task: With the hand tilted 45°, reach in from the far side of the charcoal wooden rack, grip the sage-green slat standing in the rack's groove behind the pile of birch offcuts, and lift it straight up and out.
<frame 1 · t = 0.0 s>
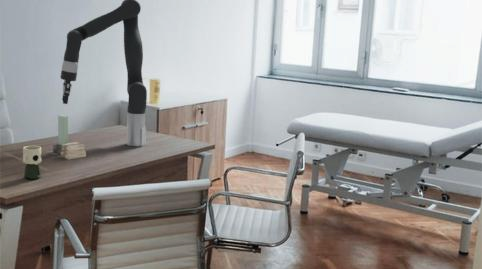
hand: (64, 102, 293), 22 cm above the table, fingers open, 8 cm apart
character mug: (32, 178, 242), on the table
rack: (63, 154, 281), on the table
slat: (63, 152, 281), point 1 cm above the table, touching rack
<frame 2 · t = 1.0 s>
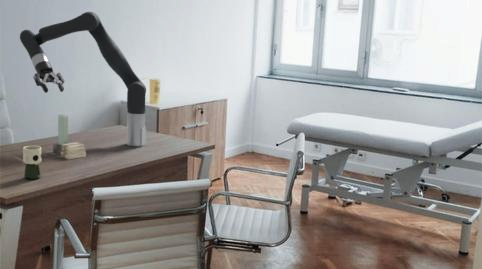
hand: (54, 91, 285), 29 cm above the table, fingers open, 8 cm apart
nothing on the table moved.
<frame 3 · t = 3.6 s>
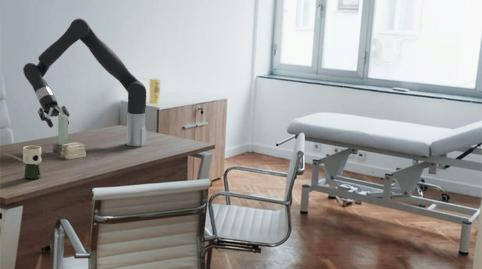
hand: (59, 125, 280), 14 cm above the table, fingers open, 8 cm apart
nothing on the table moved.
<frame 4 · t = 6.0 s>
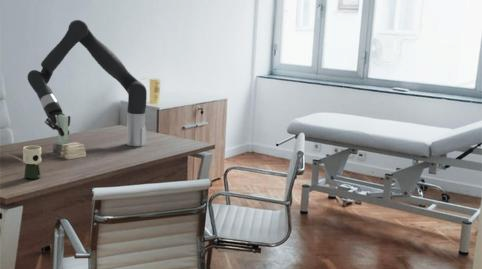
hand: (65, 135, 277), 10 cm above the table, fingers closed on slat, 2 cm apart
slat: (62, 152, 281), point 1 cm above the table, touching gripper, rack
everything else where it was.
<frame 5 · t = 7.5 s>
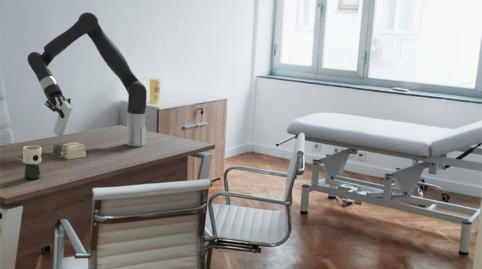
hand: (65, 117, 276), 19 cm above the table, fingers closed on slat
slat: (57, 133, 282), point 9 cm above the table, tilted 29°, touching gripper
everything else where it was.
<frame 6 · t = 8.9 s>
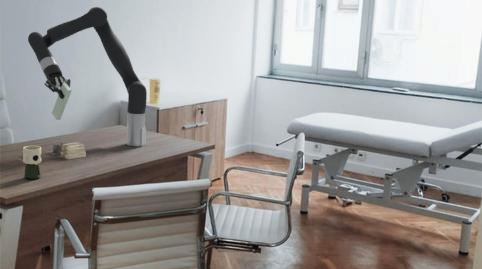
hand: (65, 97, 274), 28 cm above the table, fingers closed on slat
slat: (56, 116, 281), point 18 cm above the table, tilted 31°, touching gripper
everything else where it was.
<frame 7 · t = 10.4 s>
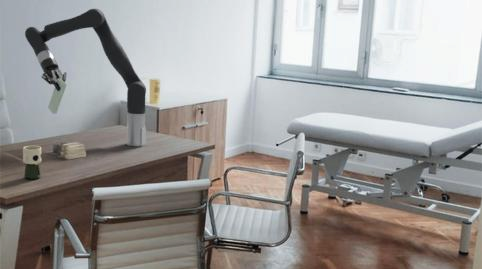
hand: (61, 89, 284), 30 cm above the table, fingers closed on slat
slat: (52, 110, 292), point 18 cm above the table, tilted 30°, touching gripper
everything else where it was.
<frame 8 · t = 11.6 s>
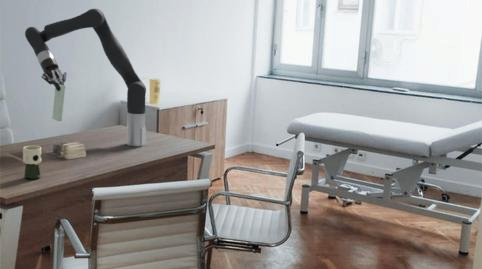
hand: (61, 89, 284), 30 cm above the table, fingers closed on slat
slat: (56, 119, 290), point 14 cm above the table, tilted 10°, touching gripper
everything else where it was.
at the end: the gripper is holding slat; slat point 13.9 cm above the table; slat touching gripper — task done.
